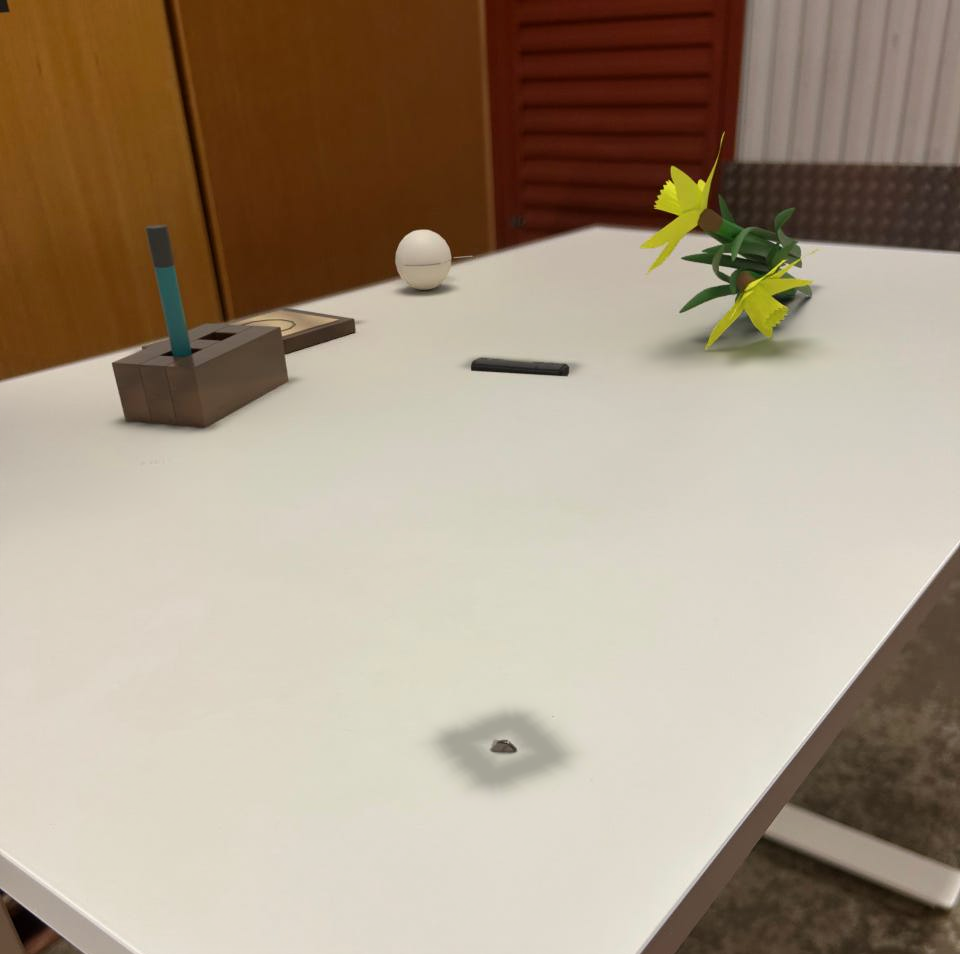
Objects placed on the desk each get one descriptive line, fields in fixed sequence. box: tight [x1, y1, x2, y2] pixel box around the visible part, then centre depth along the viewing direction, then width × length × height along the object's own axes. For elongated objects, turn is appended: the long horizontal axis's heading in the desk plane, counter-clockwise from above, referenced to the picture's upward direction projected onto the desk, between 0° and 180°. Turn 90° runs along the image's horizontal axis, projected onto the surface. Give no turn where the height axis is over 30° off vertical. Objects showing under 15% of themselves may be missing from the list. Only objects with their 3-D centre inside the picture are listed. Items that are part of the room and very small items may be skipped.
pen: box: [145, 224, 192, 357], centre depth 83 cm, size 2×2×16 cm
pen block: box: [111, 322, 290, 429], centre depth 88 cm, size 8×14×6 cm, turn 159°
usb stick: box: [470, 356, 570, 377], centre depth 93 cm, size 10×3×2 cm, turn 65°
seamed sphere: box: [394, 229, 474, 291], centre depth 128 cm, size 10×7×7 cm
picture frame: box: [141, 307, 357, 355], centre depth 109 cm, size 20×12×2 cm, turn 141°
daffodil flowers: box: [639, 131, 820, 351], centre depth 102 cm, size 17×15×35 cm
